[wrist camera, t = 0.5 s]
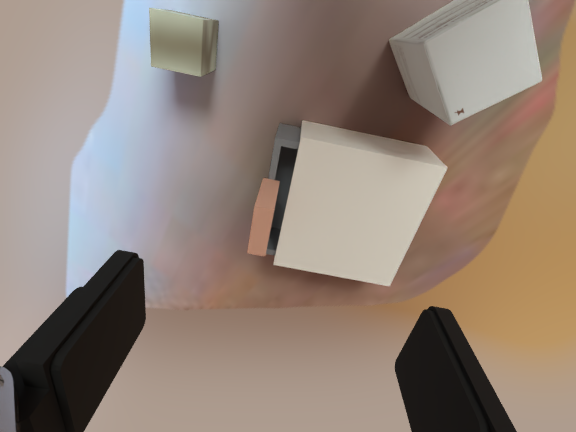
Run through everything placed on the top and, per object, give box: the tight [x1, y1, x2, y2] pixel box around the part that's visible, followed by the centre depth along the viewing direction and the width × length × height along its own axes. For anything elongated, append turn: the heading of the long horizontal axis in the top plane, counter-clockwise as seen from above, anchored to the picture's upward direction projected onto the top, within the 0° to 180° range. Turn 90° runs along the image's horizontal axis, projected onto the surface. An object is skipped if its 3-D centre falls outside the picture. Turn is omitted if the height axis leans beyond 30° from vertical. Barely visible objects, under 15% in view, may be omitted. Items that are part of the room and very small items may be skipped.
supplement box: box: [389, 0, 542, 126], centre depth 30 cm, size 7×7×13 cm
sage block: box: [149, 8, 219, 77], centre depth 33 cm, size 5×5×6 cm
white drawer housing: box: [273, 120, 448, 286], centre depth 42 cm, size 18×16×7 cm
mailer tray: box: [247, 123, 301, 256], centre depth 39 cm, size 16×19×13 cm
